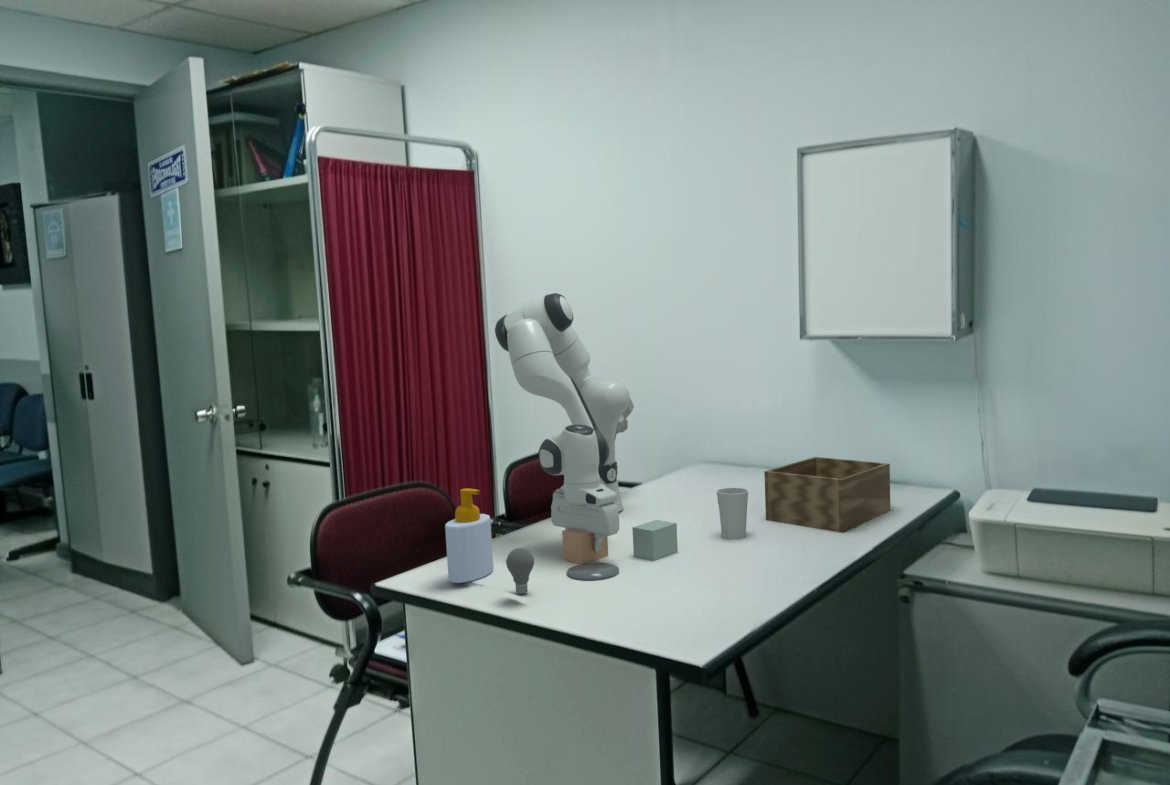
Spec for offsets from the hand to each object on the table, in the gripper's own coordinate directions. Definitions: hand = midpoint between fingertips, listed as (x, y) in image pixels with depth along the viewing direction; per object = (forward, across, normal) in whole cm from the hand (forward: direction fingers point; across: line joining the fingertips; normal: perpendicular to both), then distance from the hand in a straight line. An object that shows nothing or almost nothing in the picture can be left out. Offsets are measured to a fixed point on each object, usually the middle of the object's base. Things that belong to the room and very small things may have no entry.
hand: (585, 548), depth 223 cm
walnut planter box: (+2, +28, +66) cm, 72 cm away
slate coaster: (+2, +10, -8) cm, 13 cm away
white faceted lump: (+2, -35, +45) cm, 57 cm away
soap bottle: (+3, -12, -26) cm, 29 cm away
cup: (+2, +18, +36) cm, 40 cm away
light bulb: (+3, +8, -28) cm, 29 cm away
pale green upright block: (+2, +12, +12) cm, 17 cm away
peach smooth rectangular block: (+2, 0, 0) cm, 2 cm away
